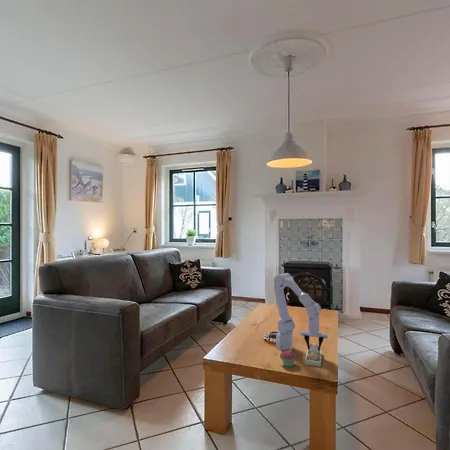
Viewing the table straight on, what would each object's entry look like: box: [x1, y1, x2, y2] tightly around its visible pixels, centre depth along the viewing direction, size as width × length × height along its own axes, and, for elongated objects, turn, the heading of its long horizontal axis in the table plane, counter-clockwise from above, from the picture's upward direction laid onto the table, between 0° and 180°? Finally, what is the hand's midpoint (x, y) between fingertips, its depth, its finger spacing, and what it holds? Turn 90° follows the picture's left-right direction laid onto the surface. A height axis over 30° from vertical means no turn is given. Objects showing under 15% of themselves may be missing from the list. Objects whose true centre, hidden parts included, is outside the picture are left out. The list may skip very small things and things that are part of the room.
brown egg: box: [308, 352, 318, 361], centre depth 165 cm, size 5×5×5 cm
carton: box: [304, 348, 323, 367], centre depth 169 cm, size 16×8×2 cm, turn 161°
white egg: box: [309, 342, 319, 353], centre depth 173 cm, size 5×5×5 cm
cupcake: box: [279, 343, 297, 367], centre depth 163 cm, size 9×8×12 cm
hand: (313, 349), depth 172 cm, fingers closed on white egg, 5 cm apart
